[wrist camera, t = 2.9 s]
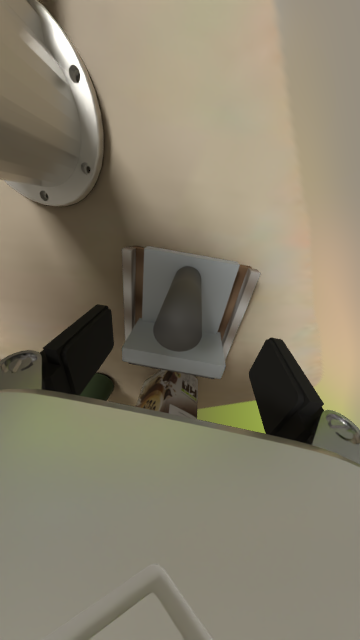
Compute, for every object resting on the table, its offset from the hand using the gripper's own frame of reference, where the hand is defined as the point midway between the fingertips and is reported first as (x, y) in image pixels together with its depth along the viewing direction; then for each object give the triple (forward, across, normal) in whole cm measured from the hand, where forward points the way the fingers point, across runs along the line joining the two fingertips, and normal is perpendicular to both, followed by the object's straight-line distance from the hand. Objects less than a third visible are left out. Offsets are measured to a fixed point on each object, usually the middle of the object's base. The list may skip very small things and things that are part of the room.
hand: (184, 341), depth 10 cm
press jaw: (+12, +1, +3) cm, 12 cm away
